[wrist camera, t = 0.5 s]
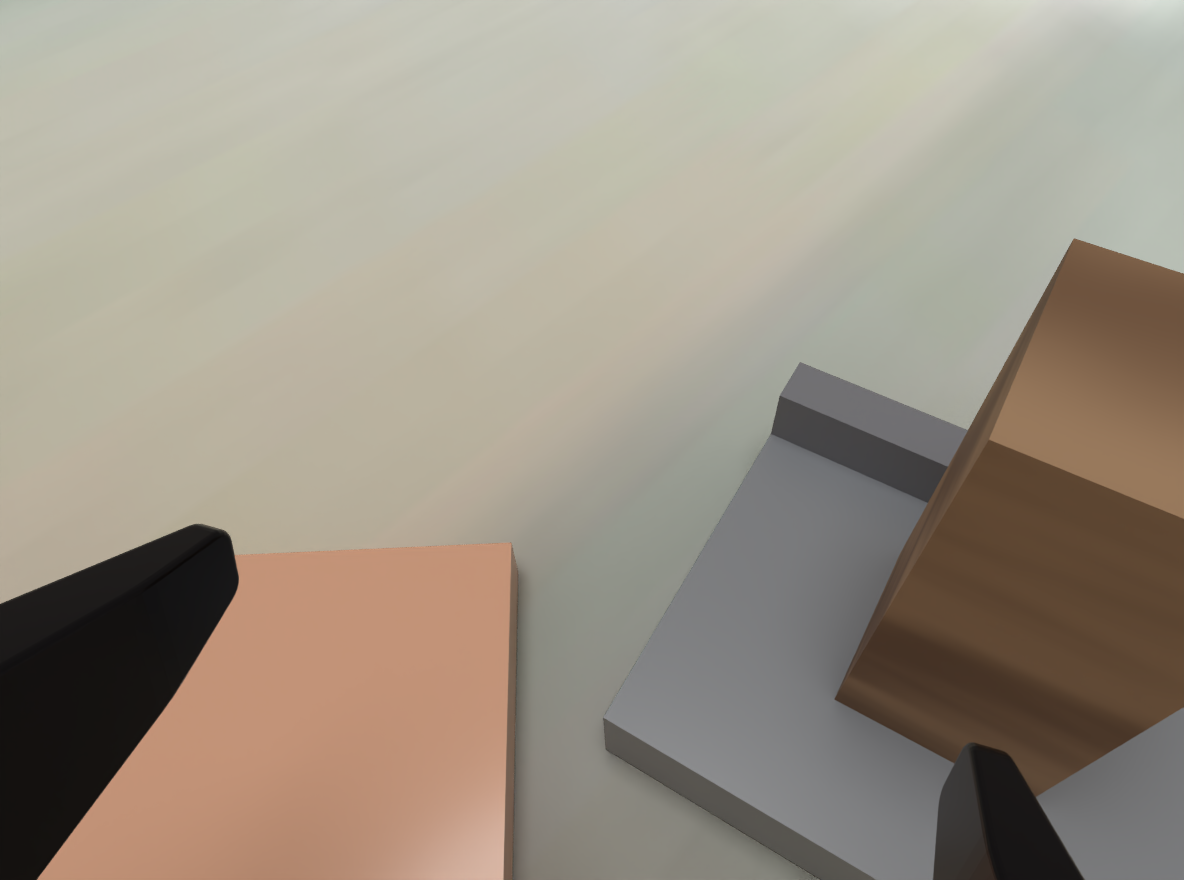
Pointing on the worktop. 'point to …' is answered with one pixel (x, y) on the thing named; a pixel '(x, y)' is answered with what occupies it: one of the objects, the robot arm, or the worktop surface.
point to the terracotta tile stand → (329, 730)
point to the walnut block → (1050, 542)
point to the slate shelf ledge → (843, 666)
